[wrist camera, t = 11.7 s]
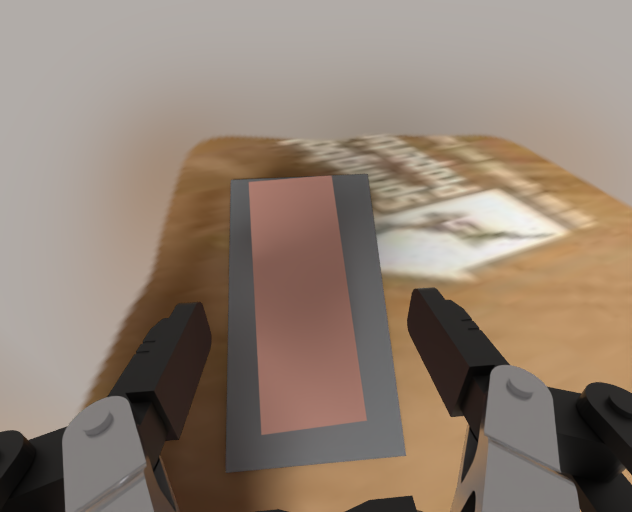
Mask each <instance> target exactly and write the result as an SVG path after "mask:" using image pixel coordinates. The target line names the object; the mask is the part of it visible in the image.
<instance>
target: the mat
mask: <svg viewBox="0 0 632 512" xmlns="http://www.w3.org/2000/svg"><path fill="white" fill-rule="evenodd" d="M310 177H316V176H310ZM292 178H304V177H287V178H264V179H242V180H231V199H230V254H229V310H228V365H227V421H226V473H229V472H239V471H250V470H260V469H271V468H282V467H292V466H303V465H313V464H324V463H334V462H345V461H355V460H366V459H376V458H387V457H397V456H406V452H405V445H404V438H403V430H402V423H401V416H400V408H399V401H398V394H397V386H396V379H395V372H394V364H393V357H392V350H391V342H390V335H389V328H388V320H387V313H386V306H385V298H384V291H383V284H382V276H381V269H380V262H379V254H378V247H377V240H376V232H375V225H374V218H373V210H372V203H371V196H370V188H369V181H368V174H355V175H333V176H332V182H333V189H334V196H335V203H336V209H337V216H338V223H339V230H340V237H341V244H342V251H343V258H344V265H345V272H346V279H347V286H348V293H349V300H350V307H351V314H352V321H353V328H354V335H355V342H356V348H357V355H358V362H359V369H360V376H361V383H362V390H363V397H364V404H365V411H366V418H367V421H360V422H353V423H345V424H338V425H331V426H324V427H316V428H309V429H302V430H294V431H287V432H280V433H272V434H265V435H261V415H260V396H259V376H258V356H257V336H256V316H255V297H254V277H253V257H252V237H251V217H250V197H249V182H255V181H267V180H280V179H292Z"/></svg>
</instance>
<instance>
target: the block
mask: <svg viewBox="0 0 632 512" xmlns="http://www.w3.org/2000/svg"><path fill="white" fill-rule="evenodd" d="M249 197H250V217H251V237H252V257H253V277H254V297H255V316H256V336H257V356H258V376H259V396H260V415H261V435H265V434H272V433H280V432H287V431H294V430H302V429H309V428H316V427H324V426H331V425H338V424H345V423H353V422H360V421H367V418H366V411H365V404H364V397H363V390H362V383H361V376H360V369H359V362H358V355H357V348H356V342H355V335H354V328H353V321H352V314H351V307H350V300H349V293H348V286H347V279H346V272H345V265H344V258H343V251H342V244H341V237H340V230H339V223H338V216H337V209H336V203H335V196H334V189H333V182H332V175H329V176H316V177H304V178H292V179H280V180H267V181H255V182H249Z"/></svg>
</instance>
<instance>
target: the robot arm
mask: <svg viewBox="0 0 632 512" xmlns="http://www.w3.org/2000/svg"><path fill="white" fill-rule="evenodd" d="M407 326H408V331H409V334H410V336H411V338H412V340H413V342H414V344H415V346H416V348H417V350H418V352H419V354H420V356H421V358H422V360H423V362H424V364H425V366H426V368H427V370H428V372H429V374H430V376H431V378H432V380H433V382H434V384H435V386H436V388H437V390H438V392H439V394H440V396H441V398H442V400H443V402H444V404H445V406H446V408H447V410H448V412H449V414H450V416H451V417H456V416H464V417H465V418H466V420H467V422H468V426H467V429H466V435H465V441H464V447H463V453H462V459H461V465H460V471H459V477H458V483H457V488H456V492H455V496H454V499H453V503H452V506H451V510H450V512H580V510H581V511H582V512H632V484H631V483H630V482H629V481H628V480H627V479H626V477H625V476H624V475H623V474H622V473H621V472H622V471H624V470H625V469H627V470H628V471H629V472H630V473H631V475H632V393H630V392H628V391H627V390H624V389H622V388H620V387H617V386H614V385H611V384H607V383H601V382H595V383H591V384H589V385H588V386H587V387H586V388H585V389H584V391H583V392H582V394H581V393H576V392H571V391H566V390H561V389H555V388H550V387H547V386H546V385H545V384H544V383H543V382H542V381H541V380H540V379H539V378H537V377H536V376H535V375H533V374H531V373H530V372H528V371H526V370H524V369H522V368H519V367H516V366H511V365H510V364H509V363H508V362H507V361H506V360H505V358H504V357H503V356H502V355H501V354H500V352H499V351H498V350H497V349H496V348H495V346H494V345H493V344H492V343H491V342H490V340H489V339H488V338H487V337H486V335H485V334H484V333H483V332H482V331H481V330H479V327H478V326H477V325H476V323H475V322H474V321H472V319H471V317H470V316H469V315H468V314H467V313H466V311H465V310H464V309H463V308H462V307H460V306H459V305H457V304H456V303H454V302H453V301H451V300H445V299H444V298H443V296H442V295H441V294H440V292H439V291H438V290H437V289H436V288H418V289H414V290H413V292H412V296H411V302H410V307H409V313H408V318H407ZM210 347H211V331H210V328H209V325H208V321H207V318H206V314H205V311H204V308H203V305H202V303H201V302H193V303H179V304H177V305H176V307H175V309H174V310H173V312H172V314H171V315H170V317H169V318H163V319H162V320H161V321H160V322H158V323H157V324H156V325H155V326H154V327H153V328H151V329H150V331H149V332H148V334H147V336H146V337H145V339H144V340H143V344H141V345H140V347H139V348H138V350H137V351H136V354H135V355H134V356H133V357H132V359H131V361H130V362H129V364H128V365H127V367H126V368H125V370H124V372H123V373H122V375H121V376H120V378H119V379H118V381H117V383H116V384H115V386H114V387H113V389H112V390H111V392H110V393H109V395H108V396H107V398H103V399H101V400H98V401H96V402H94V403H93V404H91V405H89V406H88V407H86V408H85V409H84V410H82V411H81V412H80V413H79V414H78V415H77V416H76V417H75V418H74V419H73V420H72V421H71V422H70V424H69V425H68V426H67V427H64V428H61V429H59V430H56V431H53V432H50V433H47V434H45V435H42V436H39V437H36V438H33V439H30V440H27V439H26V438H25V437H24V436H23V435H22V434H21V433H20V432H18V431H14V430H10V431H4V432H0V512H180V511H179V508H178V505H177V502H176V499H175V496H174V493H173V490H172V487H171V484H170V481H169V478H168V475H167V472H166V469H165V466H164V463H163V460H162V457H161V455H160V453H161V450H162V448H163V445H164V442H165V441H170V440H179V438H180V435H181V432H182V430H183V427H184V424H185V421H186V418H187V415H188V412H189V409H190V406H191V403H192V400H193V398H194V395H195V392H196V389H197V386H198V383H199V380H200V377H201V374H202V371H203V368H204V365H205V363H206V360H207V357H208V354H209V351H210ZM257 512H287V511H283V510H279V509H277V510H267V511H257ZM345 512H422V511H418V510H416V507H415V503H414V500H413V497H412V496H404V497H394V498H385V499H375V500H368V501H366V502H364V503H362V504H360V505H358V506H356V507H354V508H352V509H350V510H348V511H345Z"/></svg>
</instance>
